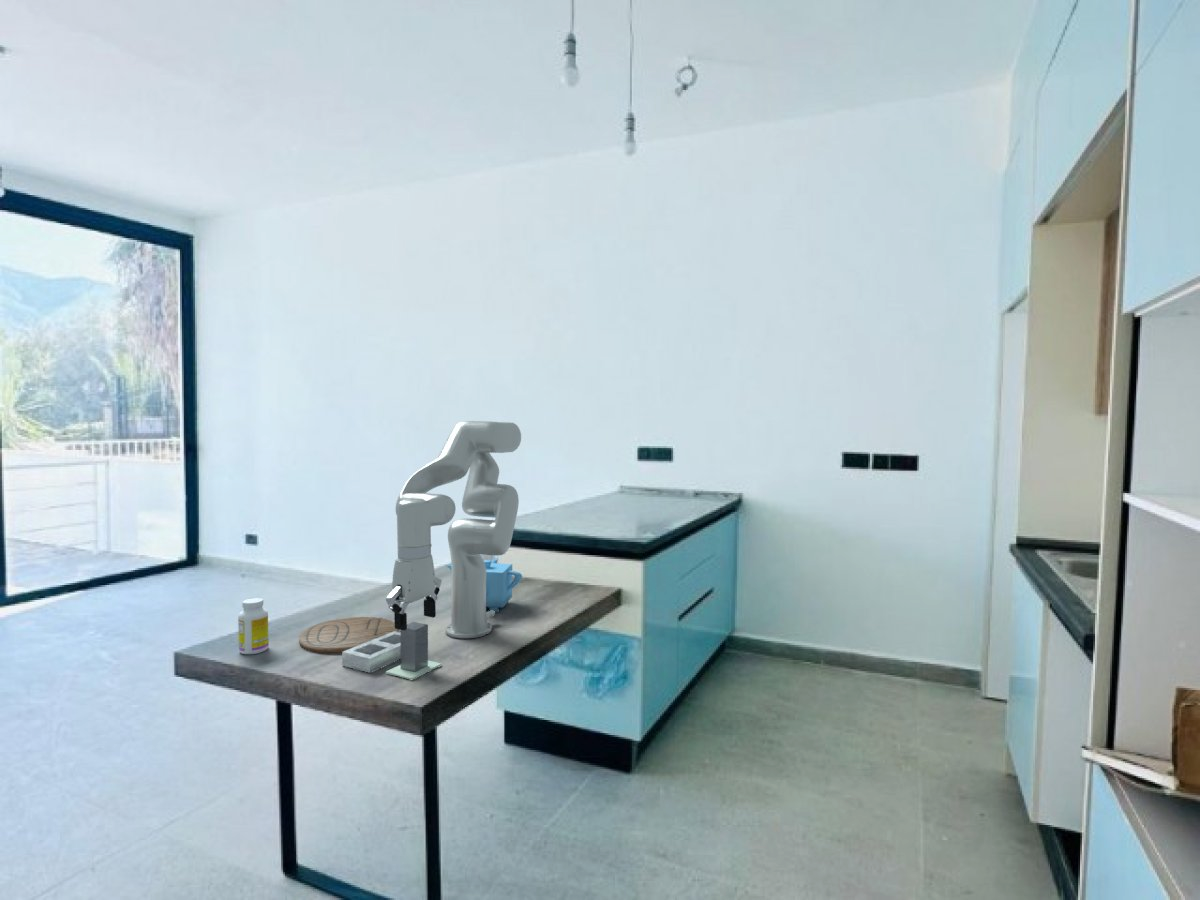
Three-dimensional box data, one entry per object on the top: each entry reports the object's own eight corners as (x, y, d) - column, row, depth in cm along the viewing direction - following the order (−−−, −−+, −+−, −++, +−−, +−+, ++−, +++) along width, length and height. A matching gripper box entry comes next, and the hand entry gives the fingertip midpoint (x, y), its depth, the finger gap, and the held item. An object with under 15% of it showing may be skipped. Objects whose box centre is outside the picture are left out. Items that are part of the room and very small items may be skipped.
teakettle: (526, 608, 203) (526, 562, 203) (472, 619, 191) (473, 570, 191) (495, 595, 218) (495, 552, 217) (443, 604, 206) (443, 559, 205)
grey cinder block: (394, 644, 170) (394, 631, 170) (420, 650, 166) (420, 636, 166) (342, 666, 155) (342, 651, 155) (369, 673, 151) (369, 658, 151)
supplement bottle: (273, 645, 168) (272, 596, 167) (260, 655, 161) (260, 604, 160) (247, 645, 167) (246, 596, 167) (233, 655, 161) (232, 604, 160)
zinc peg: (413, 662, 156) (413, 621, 156) (427, 665, 154) (427, 624, 154) (400, 668, 152) (400, 627, 152) (415, 672, 150) (415, 630, 150)
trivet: (395, 619, 191) (395, 613, 191) (401, 648, 168) (401, 641, 168) (302, 628, 182) (302, 622, 182) (295, 660, 159) (295, 652, 159)
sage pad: (416, 659, 160) (416, 657, 160) (441, 666, 156) (441, 663, 156) (385, 674, 151) (385, 671, 151) (411, 680, 147) (411, 678, 147)
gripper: (427, 542, 161) (428, 609, 163) (374, 557, 146) (376, 631, 147) (451, 545, 158) (452, 614, 159) (399, 561, 143) (401, 637, 144)
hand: (415, 622), depth 153 cm, fingers open, 9 cm apart
